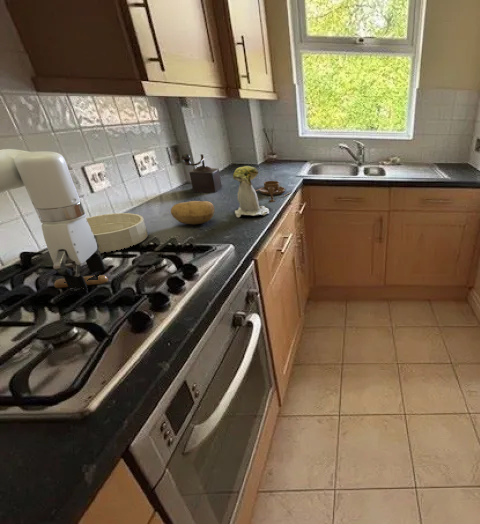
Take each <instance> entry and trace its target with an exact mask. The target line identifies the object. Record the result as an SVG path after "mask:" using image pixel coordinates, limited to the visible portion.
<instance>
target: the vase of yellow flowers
mask: <svg viewBox="0 0 480 524" xmlns="http://www.w3.org/2000/svg"><path fill="white" fill-rule="evenodd" d="M258 175H259V170H258V169H257V167H254V166H250V165H244V166H240V167H237V168H236V169H235V170H234V172H233V175H232V178H233V179H234V180H235V181H237V182H239V186H238V190H237V202H238V203H239V207H238V209H237V210H234V215H235V216H236V218H240V217H242V216H253V217H257V216H260V215H261V216H265V215H267V214H270V209H269V208H267V207H265V205H260V201H259V198H258V193H257V191H255V190H256V189H255V188H254V186H253V184H252V181H253V180H254V179H256V177H257V176H258Z"/></svg>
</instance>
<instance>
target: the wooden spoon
mask: <svg viewBox="0 0 480 524" xmlns="http://www.w3.org/2000/svg"><path fill="white" fill-rule="evenodd" d="M98 275H99V276H98V280H88V279H89V278H91V277H93V276H94V275H86V276H83V277H84V280H85V282H86V285H87V286H93V285H102V284H105V283H108V281H109V277H108V276H106V275H105V274H98ZM87 280H88V281H87ZM64 282H66V281H65V279H64V278H58V279H56V280H55V281H54V282H53V286H54V288H56V289H61V288H68V285H67V283H64Z"/></svg>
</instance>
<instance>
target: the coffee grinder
mask: <svg viewBox="0 0 480 524" xmlns="http://www.w3.org/2000/svg"><path fill="white" fill-rule="evenodd" d="M180 160H181V161H182V162H183V164H184V166H187V167H188V166H192V167H195V168H193V169H192V170H191V171H189V177H190V182H191V187H192V192H193V193H203V194H205V193H206V194H207V193H208V194H209V193H212V194H215V193H217V192H218V191H220V190H221V189H222V188H223V186H222V180H221V175H220V174H221V173H220V168H218V167H217V168H214V167H210V166H208V165H206V164H205V156H204V154H200V160H199V161H198V162H195V163H192V162H191V161H190V160H191V155H190V154H188V153H182V154H181V155H180ZM198 165H199V166H198Z"/></svg>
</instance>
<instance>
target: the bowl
mask: <svg viewBox="0 0 480 524" xmlns="http://www.w3.org/2000/svg"><path fill="white" fill-rule="evenodd" d="M85 218H86V220H87V222H88V224H89V226H90V228H91V230H92V232H93V235H96V236H97V243H98V245H99V248H98V250H99V251H100V253H101V254H105V253H104V252H106V253H111V251H113V252H117V251H116V250H118V251H122V250H125V249H128V248H131V247H134V246H136V245H138V244H140V243H142V242H143V241H145V240H146V239H147V238H148V236H149V235H148V233H149V232H148V229H147V226H146V223H145V218H144V216H142V215H140V214H137V213H130V212H115V213H105V214H97V215H93V216H88V217H85ZM133 245H134V246H133ZM130 246H131V247H130ZM124 248H125V249H124ZM121 249H122V250H121Z"/></svg>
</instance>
